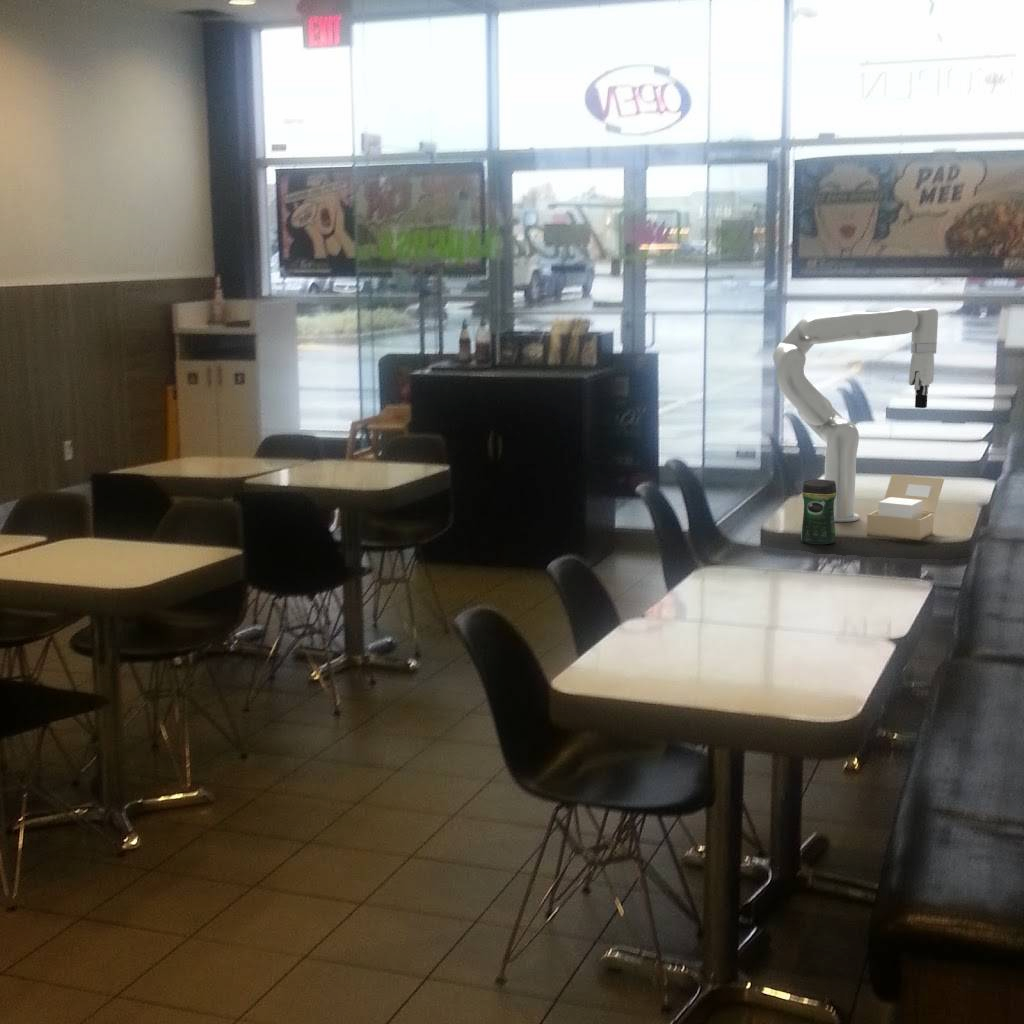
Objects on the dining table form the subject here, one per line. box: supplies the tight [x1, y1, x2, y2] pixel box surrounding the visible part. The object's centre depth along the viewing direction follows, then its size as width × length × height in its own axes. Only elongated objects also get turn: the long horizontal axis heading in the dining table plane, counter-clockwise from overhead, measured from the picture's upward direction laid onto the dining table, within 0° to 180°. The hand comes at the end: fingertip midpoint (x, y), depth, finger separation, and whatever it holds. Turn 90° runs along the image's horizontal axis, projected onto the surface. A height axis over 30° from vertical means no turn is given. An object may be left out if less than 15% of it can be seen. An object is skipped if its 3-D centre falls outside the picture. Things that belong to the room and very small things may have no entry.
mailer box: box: [866, 497, 935, 541], centre depth 399 cm, size 16×12×10 cm
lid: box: [883, 473, 945, 514], centre depth 406 cm, size 16×12×1 cm
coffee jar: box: [800, 478, 837, 545], centre depth 388 cm, size 10×8×19 cm
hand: (920, 407), depth 417 cm, fingers closed
